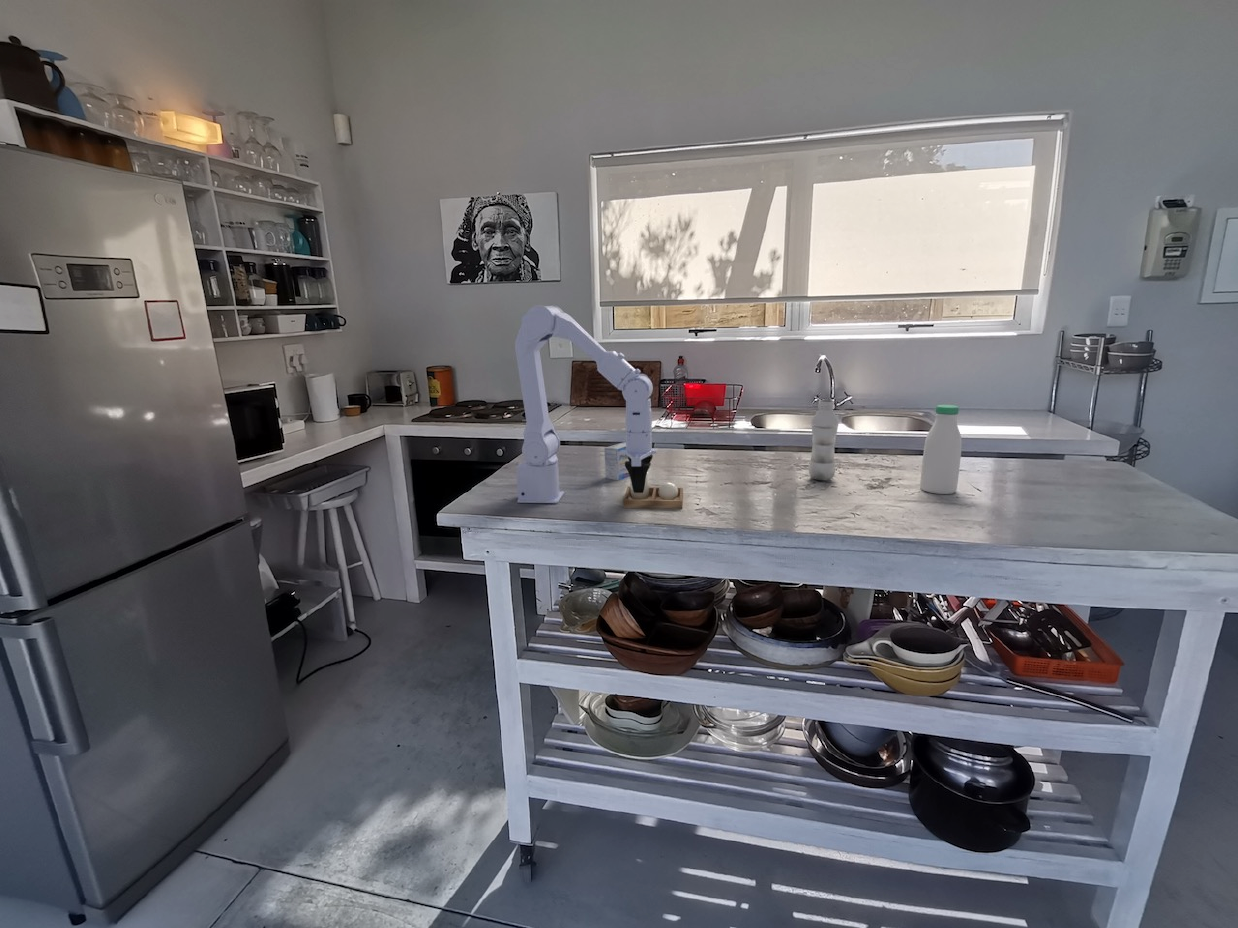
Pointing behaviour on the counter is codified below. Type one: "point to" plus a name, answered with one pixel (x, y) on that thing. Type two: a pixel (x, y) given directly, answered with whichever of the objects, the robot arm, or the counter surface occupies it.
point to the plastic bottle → (823, 441)
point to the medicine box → (616, 462)
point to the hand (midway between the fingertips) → (639, 489)
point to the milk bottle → (942, 453)
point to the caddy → (653, 500)
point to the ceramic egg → (668, 491)
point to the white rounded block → (645, 493)
